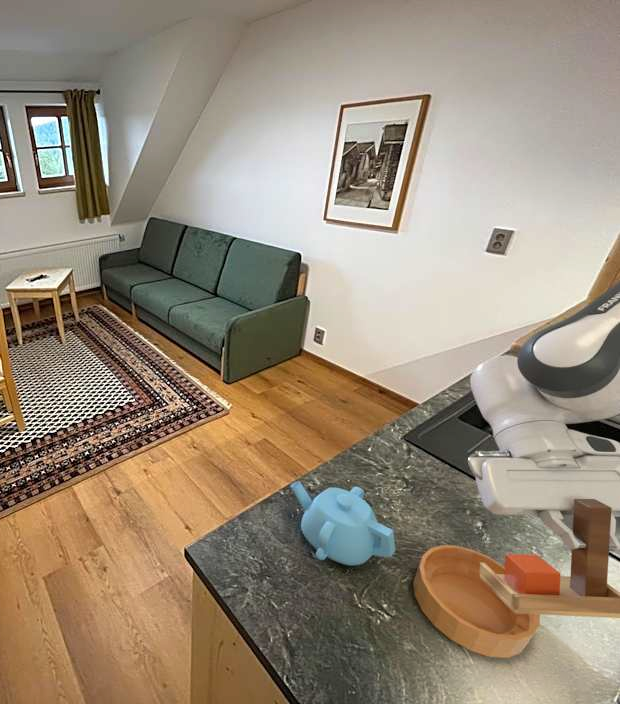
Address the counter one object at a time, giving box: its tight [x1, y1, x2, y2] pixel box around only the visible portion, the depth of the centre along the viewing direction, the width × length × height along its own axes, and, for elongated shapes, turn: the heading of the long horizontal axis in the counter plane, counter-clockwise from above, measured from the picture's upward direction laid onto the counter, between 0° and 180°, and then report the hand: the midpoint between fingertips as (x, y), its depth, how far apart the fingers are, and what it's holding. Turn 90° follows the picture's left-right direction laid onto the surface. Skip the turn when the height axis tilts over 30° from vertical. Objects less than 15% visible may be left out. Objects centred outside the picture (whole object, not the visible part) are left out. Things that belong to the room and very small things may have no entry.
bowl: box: [412, 544, 541, 659], centre depth 65 cm, size 15×15×6 cm
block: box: [504, 553, 561, 595], centre depth 55 cm, size 4×4×4 cm
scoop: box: [480, 499, 620, 619], centre depth 54 cm, size 7×13×14 cm, turn 81°
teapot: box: [290, 481, 396, 567], centre depth 77 cm, size 20×17×12 cm
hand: (594, 549), depth 53 cm, fingers closed on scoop, 2 cm apart
